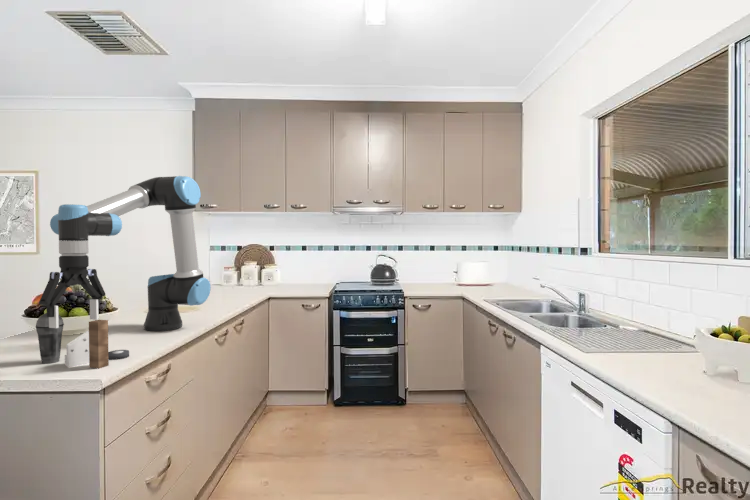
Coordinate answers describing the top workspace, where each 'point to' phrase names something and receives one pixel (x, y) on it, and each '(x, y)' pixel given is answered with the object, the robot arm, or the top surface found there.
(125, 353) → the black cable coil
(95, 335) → the walnut post
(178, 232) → the robot arm
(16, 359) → the top surface
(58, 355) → the beverage cup
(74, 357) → the white angled block
